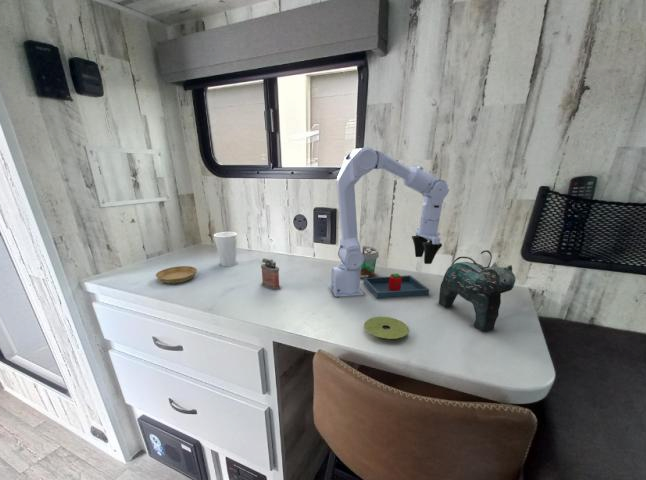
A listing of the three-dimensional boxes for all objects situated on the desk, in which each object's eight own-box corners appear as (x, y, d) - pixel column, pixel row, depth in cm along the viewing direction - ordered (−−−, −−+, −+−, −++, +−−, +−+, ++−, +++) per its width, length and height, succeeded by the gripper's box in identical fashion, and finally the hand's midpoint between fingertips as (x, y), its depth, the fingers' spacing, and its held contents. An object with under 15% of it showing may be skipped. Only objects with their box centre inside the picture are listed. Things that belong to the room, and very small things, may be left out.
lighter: (282, 288, 108) (280, 260, 104) (275, 290, 106) (273, 263, 102) (267, 282, 113) (265, 256, 109) (260, 285, 111) (258, 258, 107)
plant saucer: (165, 289, 108) (163, 282, 107) (151, 278, 118) (150, 271, 117) (204, 278, 117) (203, 272, 116) (188, 269, 127) (187, 263, 126)
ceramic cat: (502, 333, 79) (525, 258, 71) (481, 337, 78) (502, 261, 69) (448, 301, 97) (462, 238, 88) (431, 304, 95) (443, 240, 86)
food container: (376, 281, 113) (379, 255, 109) (360, 280, 114) (361, 254, 110) (376, 270, 124) (378, 246, 119) (361, 269, 125) (362, 245, 121)
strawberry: (391, 291, 104) (392, 277, 101) (386, 287, 107) (388, 273, 105) (402, 290, 104) (404, 276, 102) (397, 286, 108) (399, 272, 106)
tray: (376, 299, 99) (377, 293, 98) (363, 284, 111) (363, 278, 110) (428, 295, 101) (429, 289, 100) (409, 281, 113) (410, 275, 112)
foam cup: (222, 260, 138) (219, 231, 133) (242, 261, 137) (239, 232, 132) (214, 267, 130) (210, 236, 124) (235, 267, 129) (231, 237, 123)
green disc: (380, 349, 73) (381, 342, 72) (355, 327, 82) (355, 321, 82) (417, 338, 77) (418, 332, 76) (389, 319, 86) (390, 313, 86)
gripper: (453, 223, 91) (444, 266, 97) (432, 215, 105) (425, 253, 110) (430, 223, 91) (422, 267, 97) (411, 215, 104) (406, 254, 110)
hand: (423, 260), depth 104 cm, fingers open, 7 cm apart
